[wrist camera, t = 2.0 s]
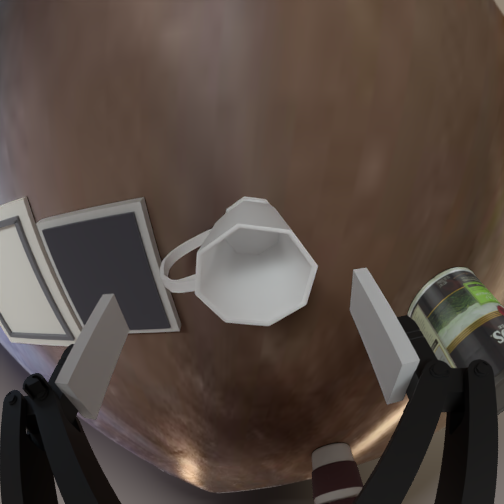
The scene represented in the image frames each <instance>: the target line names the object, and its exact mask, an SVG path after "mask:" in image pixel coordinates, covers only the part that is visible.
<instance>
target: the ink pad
mask: <svg viewBox="0 0 504 504" xmlns="http://www.w3.org/2000/svg"><path fill="white" fill-rule="evenodd" d="M36 225H37V228H38V231H39V233H40V236H41V239H42V241H43V244H44V247H45V249H46V252H47V254H48V257H49V259H50V261H51V264H52V266H53V268H54V271H55V273H56V275H57V278H58V280H59V282H60V284H61V286H62V288H63V291H64V293H65V295H66V297H67V299H68V301H69V303H70V305H71V307H72V309H73V311H74V313H75V315H76V317H77V318H78V320H79V322H80V324H81V326H82V328H84V326H85V324H86V322H87V321H88V319H89V317H90V315H91V314H92V312H93V310H94V308H95V307H96V305H97V303H98V302H99V300H100V298H101V297H102V295H103V294H114V295H115V298H116V300H117V302H118V305H119V307H120V309H121V312H122V314H123V316H124V319H125V321H126V323H127V325H128V327H129V333H152V332H174V331H180V328H181V322H180V319H179V316H178V313H177V310H176V307H175V304H174V301H173V298H172V295H171V292H170V290H168V289H167V288H166V287H165V286H164V284H163V282H162V280H161V278H160V267H161V263H162V262H161V259H160V255H159V252H158V248H157V245H156V241H155V237H154V234H153V230H152V226H151V223H150V219H149V215H148V211H147V207H146V203H145V199H144V197H142V198H136V199H131V200H125V201H120V202H115V203H110V204H105V205H100V206H96V207H91V208H86V209H82V210H77V211H73V212H68V213H64V214H60V215H56V216H52V217H47V218H43V219H41V220H40V221H38V222H37V223H36Z"/></svg>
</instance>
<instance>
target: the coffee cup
mask: <svg viewBox="0 0 504 504" xmlns="http://www.w3.org/2000/svg"><path fill="white" fill-rule="evenodd" d="M312 466H313V472H312V486H313V499H314V500H315V504H352V503H353V502H354V500H355V499H356V497H357V496H358V494H359V493H360V491H361V490H362V488H363V483H362V480H361V477H360V474H359V470H358V467H357V464H356V462H355V461H354V458H353V455H352V452H351V449H350V446H349V445H348V444H345V443H334V444H329V445H326V446H323V447H320V448H318V449H316V450H315V451H314V452H313V453H312Z"/></svg>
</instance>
